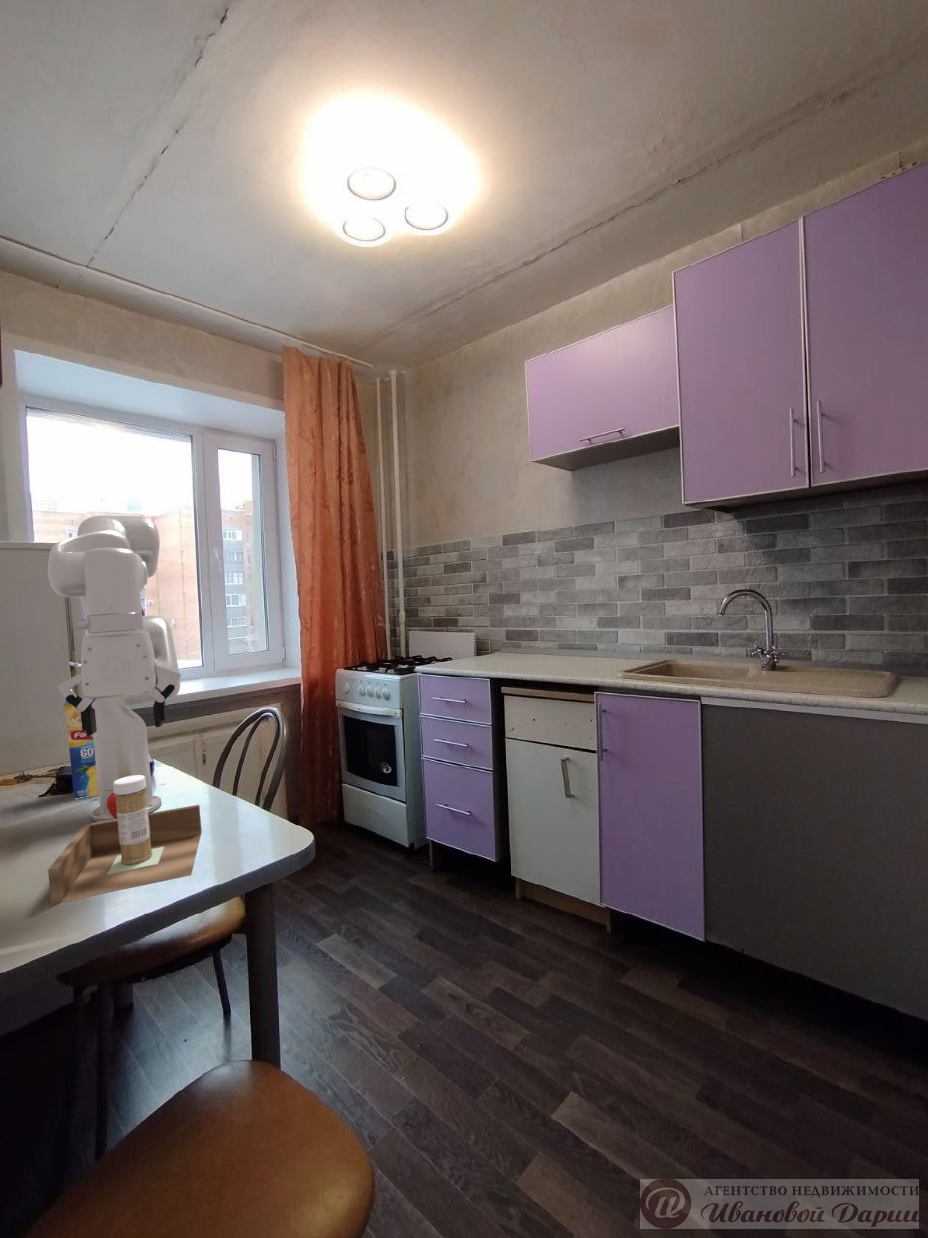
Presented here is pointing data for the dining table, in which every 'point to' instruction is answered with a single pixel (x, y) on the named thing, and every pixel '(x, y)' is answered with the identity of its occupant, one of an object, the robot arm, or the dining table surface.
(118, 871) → the sage pad
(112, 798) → the strawberry
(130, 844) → the sprinkles bottle
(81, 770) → the beverage box
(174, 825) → the tray
